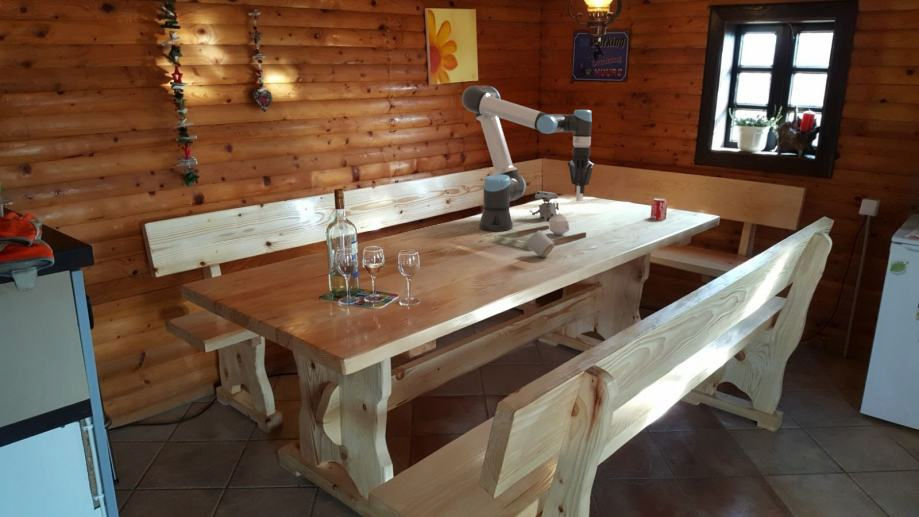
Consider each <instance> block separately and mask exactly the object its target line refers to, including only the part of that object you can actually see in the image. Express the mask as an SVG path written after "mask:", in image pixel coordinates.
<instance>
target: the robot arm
mask: <svg viewBox="0 0 919 517" xmlns="http://www.w3.org/2000/svg"><path fill="white" fill-rule="evenodd" d="M461 103H462V106H463V107H464V108H465V109H466V110H467V111H468V112H471V113H474V116H475V119H476V120H478V121H479V122H480V124H481V125H480V126H481V128H482V132H483V135H484V137H485V138H484V139H485V142H486V144H487V149H488V152H489V155H490V158H491V159H490V160H491V161H492V162H491V163H492V166H493V168H494V173H493V174H492V175H491V174H490V175H488V176H486V177H485V178H484V181H483V210H482V214H481V217H480V220H479V223H478V224H479V226H478V227H479V228H478V229H481V230H483V231H492V232H493V231H494V232H503V231H509V230H512V229H513V227H514V223H513V221H512V217H511V213H510V202H512V201H516V200H518V199H520V198H521V197H523V195H524V194H525V191H526V186H527V183H526V181H525V179H524V177H523V176H521V175H520V173H519V170H518V168H517V167H516V166H514V164H513V161H512V159H511V153H510V151H509V149H508V148H509V147H508V144H507V141H506V138H505V134H504V131H503V128H502V124H501V121H500V119H502V120H506V121H509V122H512V123H515V124H519V125H522V126H525V127H528V128H531V129H534V130H537V131H539V132H540V133H542V134H546V135H550V134H554V133H556V134H557V133H572V134H573V135H572V145H573V146H572V160H570V161H568V162H567V165H568V168H569V174H570V175H569V176H570V180H571V184H572V185H574V186H575V188H574V190H575V191H574V192H575V193H576V194H575V195H576V196H575V201H576V202H582V201H583V199H584V194H585V187H586V186H588V185H589V183H590V179H591V176H592V171H593V168H594V167H595V163H593V162H591V159H590V156H591V147H590V146H591V145H592V144H591V143H592V141H591V140H592V121H593V118H592V110H589V109H575V110H574V112H573V114H564V113H563V114H562V113H561V114H560V113H553V114H550V113H549V114H548V113H546V112H542V111H539V110H536V109H532V108H531V107H530V108H529V107H527V106H523V105H520V104H517V103H514V102H510V101H507V100H504V99H501V95H500V93H499V91H498V90H497V89H496V88H495V87H493V86H490V85H471V86H468V87H467V88H465V90H464V91H463V93H462V96H461Z"/></svg>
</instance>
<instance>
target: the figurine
mask: <svg viewBox="0 0 919 517" xmlns="http://www.w3.org/2000/svg"><path fill="white" fill-rule="evenodd" d="M534 198H535V199H538V200H542V201H543V202H542V203H541V204H539V205H538V209H537V210H535V211H532V210H530V213H531V215H532V216H535V215H537V214H538V213H539V221H542V222H548V219H550V218H552V217H554V216H556V215H558V214H557V211H559V210H560V206H559V202H557V201H554V202H550V201H551V200H556V199H558V198H559V195H558V194H557V193H556V192H551V191H543V190H537V191H536V192H535V195H534Z"/></svg>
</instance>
